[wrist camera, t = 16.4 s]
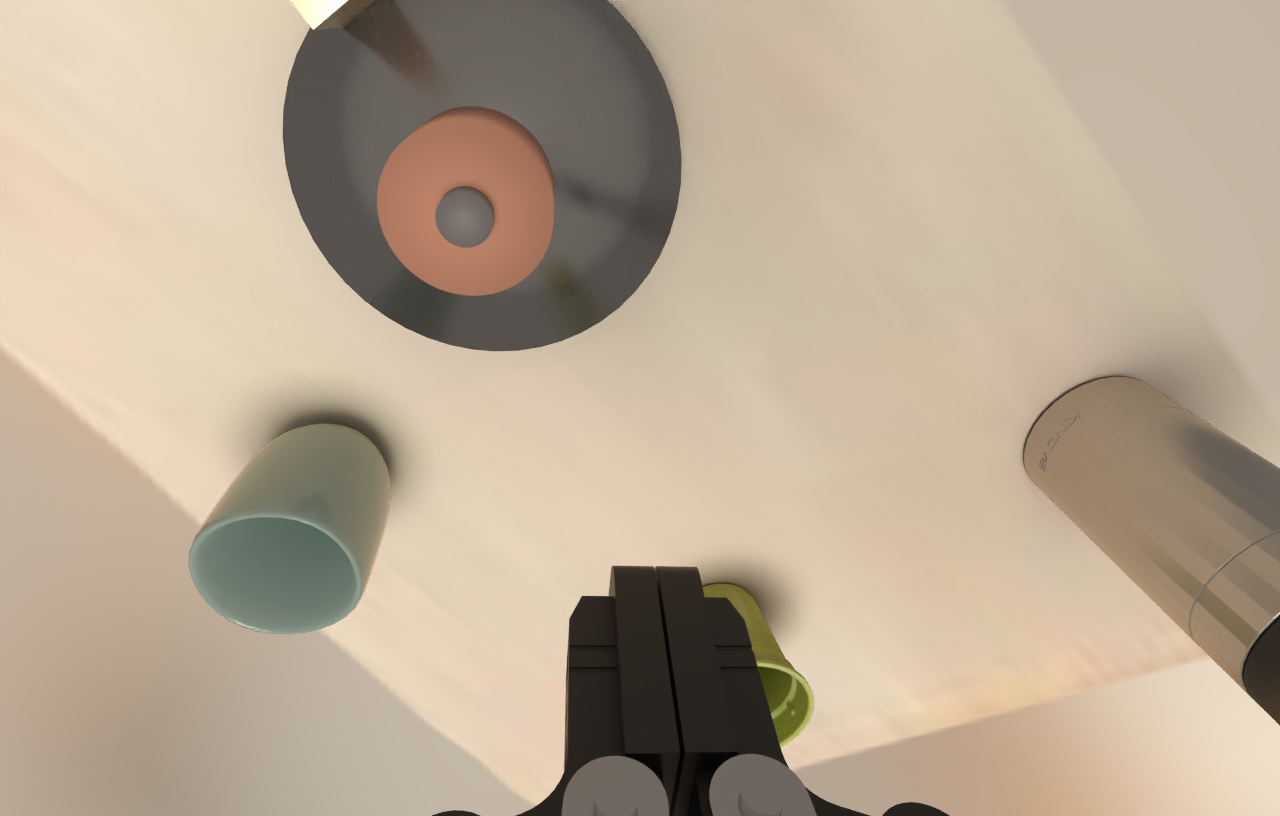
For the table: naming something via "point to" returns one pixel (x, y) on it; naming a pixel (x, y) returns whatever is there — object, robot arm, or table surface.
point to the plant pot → (771, 667)
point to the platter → (514, 85)
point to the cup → (295, 532)
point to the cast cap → (468, 201)
